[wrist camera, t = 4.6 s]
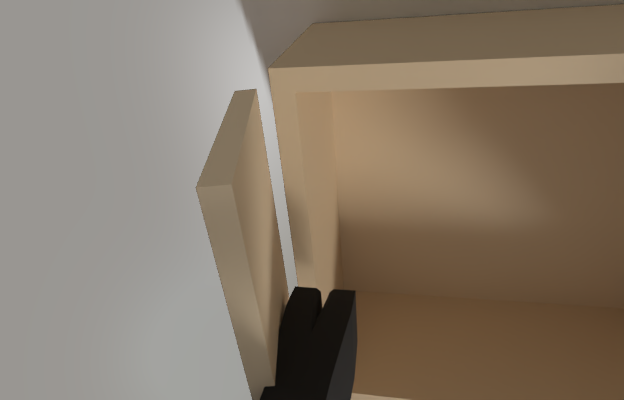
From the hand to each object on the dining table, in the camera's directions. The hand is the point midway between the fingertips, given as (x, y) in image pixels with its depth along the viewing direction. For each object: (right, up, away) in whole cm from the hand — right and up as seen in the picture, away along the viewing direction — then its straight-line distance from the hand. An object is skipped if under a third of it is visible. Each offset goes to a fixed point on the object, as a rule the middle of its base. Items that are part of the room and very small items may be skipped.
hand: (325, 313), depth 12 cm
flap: (-1, -1, -1) cm, 1 cm away
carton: (+7, +4, +5) cm, 10 cm away
